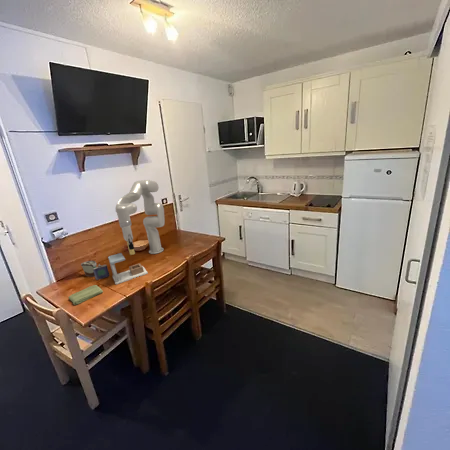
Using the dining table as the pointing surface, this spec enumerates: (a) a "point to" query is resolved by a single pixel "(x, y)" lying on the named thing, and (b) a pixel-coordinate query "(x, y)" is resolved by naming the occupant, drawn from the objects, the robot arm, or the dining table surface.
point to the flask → (101, 272)
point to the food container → (89, 267)
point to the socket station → (127, 275)
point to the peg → (131, 250)
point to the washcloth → (85, 294)
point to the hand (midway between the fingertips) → (131, 248)
